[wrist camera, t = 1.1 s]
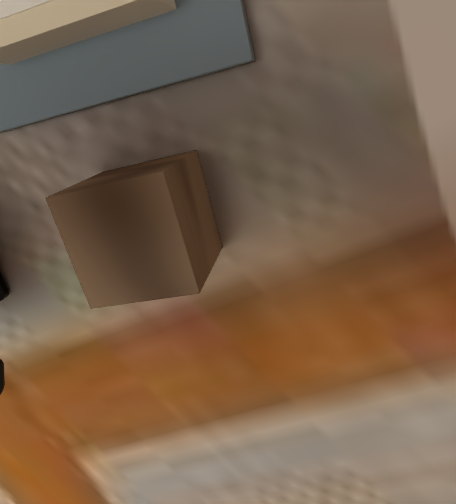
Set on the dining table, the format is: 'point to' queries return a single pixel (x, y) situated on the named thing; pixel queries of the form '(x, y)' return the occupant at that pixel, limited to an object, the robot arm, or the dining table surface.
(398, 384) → the dining table surface
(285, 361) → the dining table surface
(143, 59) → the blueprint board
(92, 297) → the walnut block
